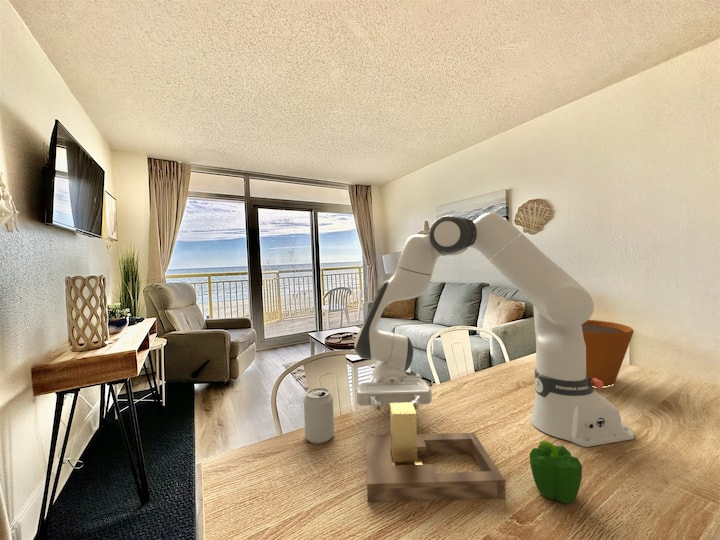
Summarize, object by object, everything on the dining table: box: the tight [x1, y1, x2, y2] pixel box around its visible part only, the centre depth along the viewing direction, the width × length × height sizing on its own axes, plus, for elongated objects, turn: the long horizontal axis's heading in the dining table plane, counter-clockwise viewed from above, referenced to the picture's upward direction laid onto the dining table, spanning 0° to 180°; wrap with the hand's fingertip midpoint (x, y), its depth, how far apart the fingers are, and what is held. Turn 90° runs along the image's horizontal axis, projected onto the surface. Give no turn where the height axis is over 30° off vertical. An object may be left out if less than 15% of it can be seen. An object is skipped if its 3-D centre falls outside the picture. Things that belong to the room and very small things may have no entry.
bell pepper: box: [529, 440, 583, 505], centre depth 59 cm, size 8×8×10 cm
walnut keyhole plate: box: [365, 432, 506, 503], centre depth 66 cm, size 26×16×4 cm, turn 90°
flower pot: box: [581, 319, 634, 386], centre depth 111 cm, size 24×24×20 cm
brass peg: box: [389, 402, 424, 465], centre depth 66 cm, size 8×8×14 cm
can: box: [303, 387, 335, 445], centre depth 80 cm, size 8×8×12 cm
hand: (396, 407), depth 77 cm, fingers open, 8 cm apart
